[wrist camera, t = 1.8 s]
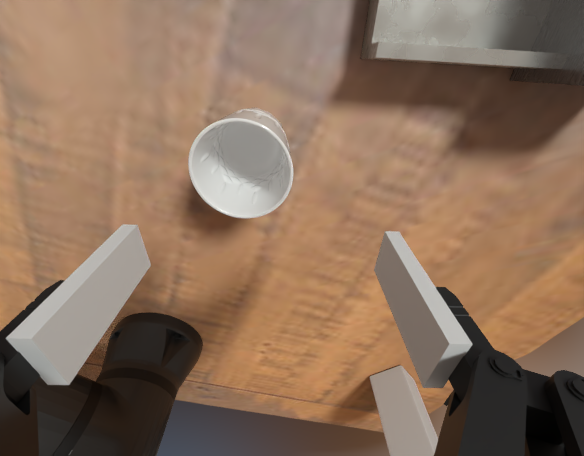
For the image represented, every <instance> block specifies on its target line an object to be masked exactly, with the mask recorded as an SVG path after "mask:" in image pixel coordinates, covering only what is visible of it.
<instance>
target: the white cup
mask: <svg viewBox="0 0 584 456" xmlns="http://www.w3.org/2000/svg"><path fill="white" fill-rule="evenodd" d="M188 167H189V174H190V178H191V181H192V183H193V185H194V187H195V189H196V191H197V192H198V194H199V195H200V196H201V198H202V199H203V200H204V201H205V202H206V203H207V204H208V205H210V206H211V207H212V208H214V209H215V210H217V211H219V212H221V213H223V214H225V215H228V216H231V217H236V218H256V217H260V216H263V215H266V214H268V213H270V212H272V211H273V210H275V209H276V208H277V207H279V206H280V205H281V204H282V202H283V201H284V200H285V199H286V197H287V195H288V193H289V191H290V189H291V186H292V182H293V165H292V159H291V154H290V148H289V144H288V141H287V137H286V134H285V132H284V130H283V127H282V125H281V123H280V122H279V121H278V120H277V119H276V118H275V117H274V116H273V115H272V114H271V113H270V112H268V111H265V110H262V109H259V108H257V107H254V108H247V109H241V110H239V111H236V112H233V113H231V114H229V115H227V116H225V117H223V118H221V119H220V120H218V121H216V122H214V123H213V124H211V125H209V126H208V127H206V128H205V129H204V130H203V131H202V132H201V133H200V134H199V135H198V136H197V137H196V139H195V141H194V142H193V144H192V147H191V149H190V153H189V160H188Z"/></svg>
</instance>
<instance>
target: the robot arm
mask: <svg viewBox="0 0 584 456" xmlns="http://www.w3.org/2000/svg"><path fill="white" fill-rule="evenodd" d="M150 266H151V264H150V261H149V258H148V255H147V252H146V249H145V246H144V243H143V240H142V237H141V234H140V231H139V228H138V225H122V226H121V227H120V228H119V229H118V230H116V231H115V232H114V233H113V234H112V235H111V236H110V237H109V238H108V239H107V240H106V241H105V242H104V243H103V244H102V245H101V246H100V247H99V248H98V249H97V250H96V251H95V252H94V253H93V254H92V255H91V256H90V257H89V258H88V259H87V260H86V261H85V262H84V263H83V264H82V265H80V266H79V267H78V268H77V269H76V270H75V271H74V272H73V273H72V274H71V275H70V276H69V277H68V278H67V279H66V280H60V281H58V282H57V283H55V284H53V285H52V286H50V287H49V288H47V289H45V290H44V291H43V292H42V293H41V294H40V295H39V296H38V297H37V298H36V299H35V301H34V302H31V303H30V304H29V305H28V306H27V307H26V309H25V310H23V311H22V312H21V313H20V314H19V315H17V316H16V317H15V318H14V319H13V320H12V321H11V322H10V323H9V324H8V325H7V326H6V327H5V328H3V329H2V330H1V331H0V456H156V455H157V452H158V449H159V446H160V443H161V440H162V437H163V433H164V431H165V428H166V424H167V422H168V419H169V415H170V413H171V409H172V406H173V403H174V400H175V397H176V394H177V392H178V389H179V388H180V386H181V385H182V383H183V382H184V380H185V379H186V377H187V376H188V374H189V373H190V372H191V370H192V369H193V367H194V366H195V364H196V363H197V361H198V359H199V357H200V354H201V350H202V346H203V343H202V339H201V337H200V335H199V334H198V332H197V331H196V330H195V329H194V328H193V327H191V326H190V325H189V324H187V323H185V322H184V321H182V320H180V319H177V318H175V317H172V316H168V315H164V314H159V313H138V314H133V315H130V316H128V317H125V318H124V319H122V320H121V321H120V322H119V323H118V324H117V326H116V327H115V329H114V330H113V332H112V334H111V336H110V339H109V343H108V347H107V351H106V355H105V359H104V363H103V367H102V371H101V373H100V375H99V377H98V378H97V380H96V382H95V381H92V380H90V379H88V378H86V377H83V376H81V375H79V374H77V373H78V371H79V370H80V369H81V367H82V366H83V364H84V363H85V361H86V360H87V358H88V357H89V355H90V354H91V352H92V351H93V349H94V348H95V346H96V345H97V344H98V342H99V341H100V339H101V338H102V336H103V335H104V333H105V332H106V330H107V329H108V327H109V326H110V324H111V323H112V322H113V320H114V319H115V317H116V316H117V314H118V313H119V311H120V310H121V308H122V307H123V305H124V304H125V302H126V301H127V300H128V298H129V297H130V295H131V294H132V292H133V291H134V289H135V288H136V286H137V285H138V283H139V282H140V280H141V279H142V278H143V276H144V275H145V273H146V272H147V270H148V269H149V267H150ZM374 271H375V273H376V275H377V278H378V280H379V283H380V285H381V287H382V290H383V292H384V295H385V297H386V300H387V302H388V304H389V307H390V309H391V312H392V314H393V316H394V319H395V321H396V324H397V326H398V328H399V331H400V333H401V336H402V338H403V340H404V343H405V345H406V348H407V350H408V352H409V355H410V357H411V360H412V362H413V365H414V367H415V369H416V372H417V374H418V377H419V379H420V381H421V384H422V386H423V388H443V387H444V385H445V384H446V382H447V381H448V380H449V381H450V383H451V385H452V387H453V389H454V390H453V392H452V393H451V394H450V396H449V397H448V398H447V400H446V401H445V403H444V404H445V405H446V406H447V405H448V407H447V410H446V414H445V418H444V421H443V425H442V428H441V432H440V436H439V439H438V443H437V446H436V450H435V453H434V456H584V377H582V376H580V375H578V374H576V373H573V372H569V371H565V370H561V371H557V372H555V374H553V375H552V376H551V377H548V376H544V375H541V374H538V373H534V372H531V371H528V370H524V369H522V368H521V366H520V365H519V364H517V363H516V362H515V361H514V360H513V359H512V358H510V357H509V356H507V355H506V354H504V353H501V352H499V351H496V350H495V349H494V348H493V347H492V346H491V344H490V343H489V342H488V340H487V339H486V337H485V336H484V335H483V333H482V332H481V330H480V329H479V328H478V326H477V325H476V323H475V322H474V321H473V319H472V318H471V317H469V314H468V312H467V311H466V310H465V308H463V305H462V304H461V303H460V301H459V300H458V298H457V297H456V296H455V295H454V294H453V293H451V292H450V291H449V290H448V289H447V288H445V287H435V286H434V284H433V283H432V281H431V280H430V278H429V277H428V275H427V274H426V272H425V271H424V269H423V268H422V266H421V265H420V263H419V262H418V260H417V259H416V257H415V255H414V254H413V252H412V251H411V249H410V248H409V246H408V245H407V243H406V242H405V240H404V239H403V237H402V236H401V234H400V233H399V232H391V231H385V233H384V236H383V240H382V244H381V247H380V251H379V255H378V258H377V262H376V265H375V269H374Z"/></svg>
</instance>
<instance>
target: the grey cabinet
mask: <svg viewBox="0 0 584 456" xmlns="http://www.w3.org/2000/svg"><path fill="white" fill-rule="evenodd" d="M360 59H373V60H389V61H405V62H421V63H437V64H453V65H469V66H485V67H502V68H515V69H514V71H513V74H512V76H511V78H510V80H512V81H526V82H540V83H554V84H569V85H583V86H584V0H370V2H369V8H368V14H367V20H366V27H365V33H364V39H363V45H362V52H361V58H360Z"/></svg>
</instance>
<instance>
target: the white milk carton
mask: <svg viewBox="0 0 584 456" xmlns="http://www.w3.org/2000/svg"><path fill="white" fill-rule="evenodd" d="M370 381H371V385H372V389H373V393H374V397H375V400H376V404H377V408H378V412H379V416H380V419H381V423H382V427H383V431H384V434H385V438H386V442H387V446H388V450H389V453H390V456H434V453H435V450H436V446H437V443H438V438H437V435H436V433H435V430H434V428H433V425H432V423H431V420H430V418H429V415H428V413H427V410H426V408H425V405H424V403H423V400H422V398H421V395H420V393H419V390H418V388H417V385H416V383H415V381H414V379H413V378H412V377H411V376H410V375H409V374H408V372H407V371H406V370H405V369H404V368H403V367H402V366H401V365H400V366H397V367H394V368H391V369H389V370H386V371H383V372H380V373H378V374H375V375H372V376H370Z"/></svg>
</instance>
